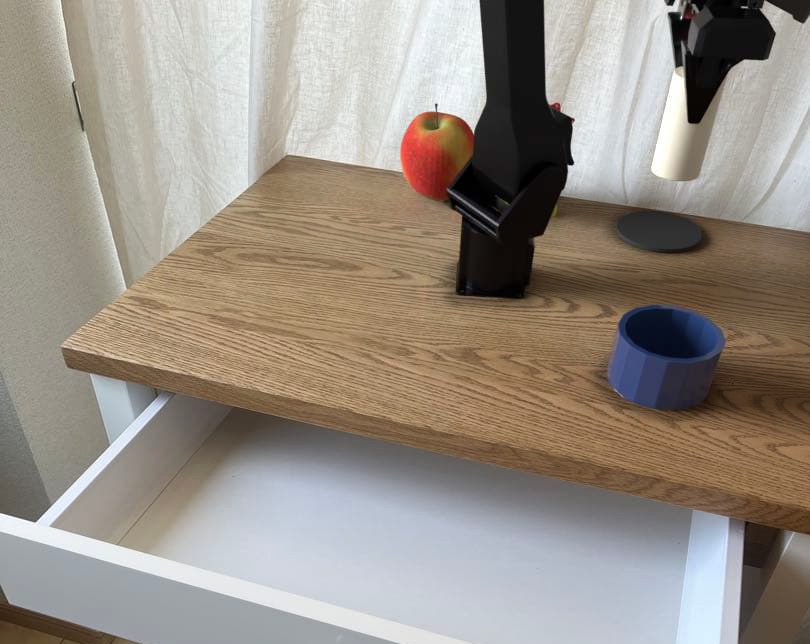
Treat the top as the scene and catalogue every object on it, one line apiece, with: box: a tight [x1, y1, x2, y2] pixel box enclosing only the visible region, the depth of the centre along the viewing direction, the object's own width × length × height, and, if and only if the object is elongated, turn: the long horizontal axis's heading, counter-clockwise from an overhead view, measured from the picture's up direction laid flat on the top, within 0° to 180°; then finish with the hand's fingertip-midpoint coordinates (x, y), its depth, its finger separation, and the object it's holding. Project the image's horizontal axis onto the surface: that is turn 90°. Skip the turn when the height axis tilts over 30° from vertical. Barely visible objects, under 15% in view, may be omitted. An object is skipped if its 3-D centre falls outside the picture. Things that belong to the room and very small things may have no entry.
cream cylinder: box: [650, 66, 727, 182], centre depth 79 cm, size 5×5×12 cm
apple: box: [399, 102, 474, 201], centre depth 90 cm, size 8×8×10 cm
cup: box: [606, 304, 727, 411], centre depth 67 cm, size 8×8×5 cm
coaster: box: [615, 210, 703, 254], centre depth 88 cm, size 9×9×1 cm
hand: (689, 113), depth 79 cm, fingers closed on cream cylinder, 5 cm apart
